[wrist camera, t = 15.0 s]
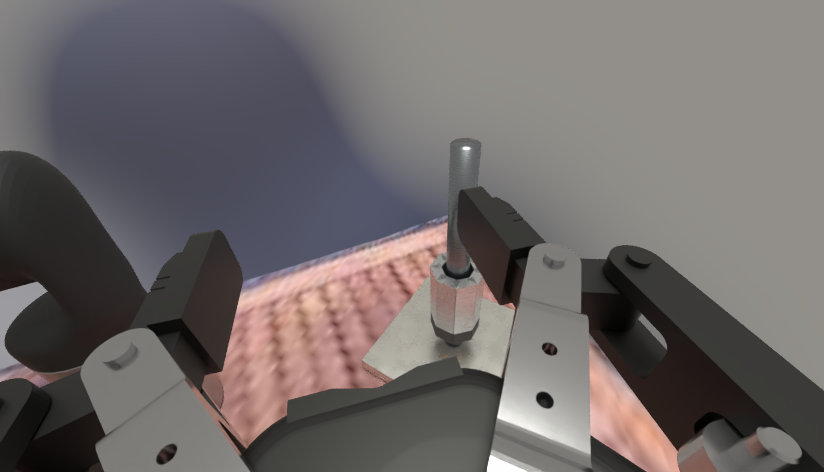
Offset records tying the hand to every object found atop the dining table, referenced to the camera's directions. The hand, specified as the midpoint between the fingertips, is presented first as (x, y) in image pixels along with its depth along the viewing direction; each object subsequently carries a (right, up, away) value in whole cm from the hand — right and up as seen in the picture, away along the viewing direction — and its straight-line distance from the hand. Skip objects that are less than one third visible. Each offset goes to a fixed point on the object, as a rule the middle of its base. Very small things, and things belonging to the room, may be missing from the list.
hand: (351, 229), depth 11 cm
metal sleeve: (+8, -10, +30) cm, 32 cm away
